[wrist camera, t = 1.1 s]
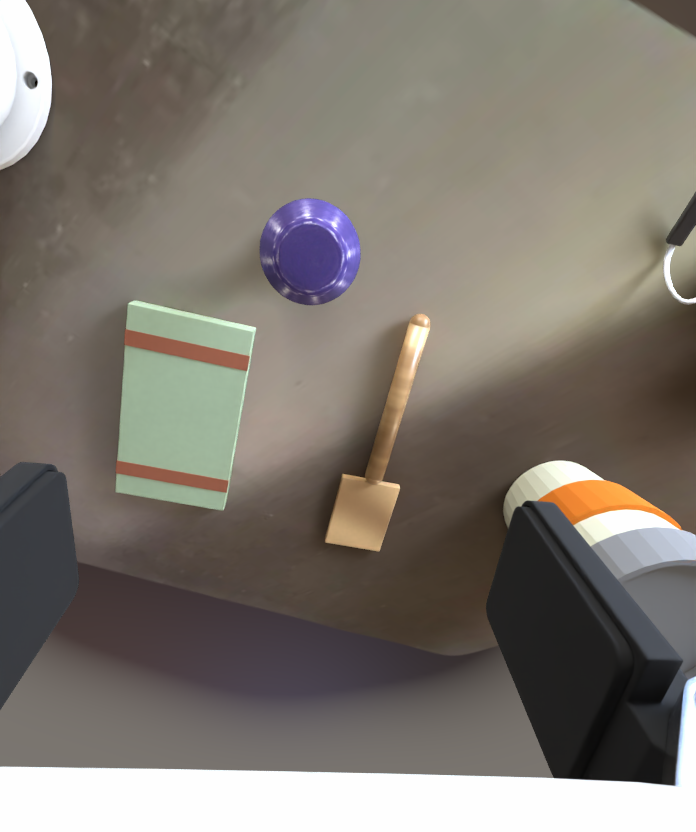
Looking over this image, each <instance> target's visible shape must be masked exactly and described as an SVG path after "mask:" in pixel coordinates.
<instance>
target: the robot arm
mask: <svg viewBox="0 0 696 832" xmlns="http://www.w3.org/2000/svg"><path fill="white" fill-rule="evenodd" d="M36 80H37V81H38V84H37V87H35V81H36ZM51 90H52V79H51V71H50V63H49V57H48V54H47V50H46V46H45V43H44V39H43V36H42V33H41V31H40V29H39V26H38V24H37V22H36V20H35V17H34V15H33V13H32V11H31V9H30V8H29V6H28V4H27V3H26V1H25V0H0V170H1V169H4V168H6V167H9V166H11V165H13V164H14V163H16V162H17V161H18V160H20V159H21V158H23V157H24V156H25V155H27V153H28V152H29V151H30V150H31V148H32V147H33V146H34V145H35V144H36V142H37V141H38V139H39V137H40V135H41V133H42V131H43V129H44V127H45V125H46V122H47V118H48V114H49V110H50V106H51ZM78 584H79V576H78V567H77V559H76V551H75V544H74V536H73V528H72V520H71V512H70V505H69V497H68V489H67V481H66V477H65V475H64V474H63V473H62V472H58V471H57V469H56V467H55V466H54V465H52V464H40V463H27V462H20V463H18V464H16V465H15V466H13V467H12V468H11V469H10V470H8V471H7V472H6V473H5V474H3V475H2V476H1V477H0V709H1V708H2V707H3V705H4V703H5V702H6V700H7V699H8V697H9V696H10V694H11V693H12V691H13V690H14V688H15V687H16V685H17V684H18V682H19V681H20V679H21V678H22V676H23V675H24V673H25V671H26V670H27V668H28V667H29V665H30V664H31V662H32V661H33V659H34V658H35V656H36V655H37V653H38V652H39V650H40V649H41V647H42V646H43V644H44V643H45V641H46V639H47V638H48V636H49V635H50V633H51V632H52V630H53V629H54V627H55V626H56V624H57V623H58V621H59V620H60V618H61V617H62V615H63V614H64V612H65V611H66V609H67V608H68V606H69V604H70V603H71V601H72V600H73V598H74V596H75V594H76V592H77V589H78ZM486 612H487V617H488V620H489V622H490V625H491V627H492V630H493V632H494V635H495V637H496V639H497V642H498V644H499V647H500V649H501V652H502V654H503V656H504V659H505V661H506V664H507V666H508V668H509V671H510V673H511V676H512V678H513V681H514V683H515V685H516V688H517V690H518V693H519V695H520V698H521V700H522V703H523V705H524V707H525V710H526V712H527V715H528V717H529V720H530V722H531V724H532V727H533V729H534V732H535V734H536V737H537V739H538V741H539V744H540V746H541V749H542V751H543V754H544V756H545V758H546V761H547V763H548V766H549V768H550V770H551V773H552V775H553V777H554V778H532V777H495V776H494V777H493V776H456V775H454V776H453V775H419V774H416V775H415V774H380V773H336V772H335V773H333V772H289V771H238V770H188V769H187V770H186V769H125V768H123V769H122V768H119V769H118V768H56V767H52V768H51V767H0V832H696V676H695V677H693V678H691V679H690V680H688V678H687V677H686V676H685V675H684V673H683V672H682V671H681V670H680V667H681V665H682V663H683V659H682V658H681V657H680V656H679V655H678V653H677V652H676V651H675V650H674V648H673V647H672V646H671V645H670V643H669V642H668V641H667V640H666V639H665V637H664V636H663V635H662V634H661V632H660V631H659V630H658V629H657V628H656V626H655V625H654V624H653V623H652V621H651V620H650V619H649V618H648V616H647V615H646V614H645V613H644V612H643V610H642V609H641V608H640V607H639V605H638V604H637V603H636V602H635V601H634V599H633V598H632V597H631V596H630V594H629V593H628V592H627V591H626V589H625V588H624V587H623V586H622V585H621V583H620V582H619V581H618V580H617V578H616V577H615V576H614V575H613V574H612V572H611V571H610V570H609V569H608V567H607V566H606V565H605V564H604V562H603V561H602V560H601V559H600V558H599V556H598V555H597V554H596V553H595V551H594V550H593V549H592V548H591V547H590V545H589V544H588V543H587V542H586V540H585V539H584V538H583V537H582V535H581V534H580V533H579V532H578V531H577V529H576V528H575V527H574V526H573V524H572V523H571V522H570V521H569V520H568V518H567V517H566V516H565V515H564V513H563V512H562V511H561V510H560V509H559V507H558V506H557V505H556V504H555V503H553V502H543V501H530V500H527V501H525V502H524V503H523V504H522V506H518V507H516V508H515V509H514V512H513V515H512V518H511V521H510V525H509V528H508V531H507V535H506V538H505V541H504V545H503V548H502V552H501V555H500V558H499V562H498V565H497V568H496V572H495V575H494V578H493V582H492V585H491V589H490V592H489V595H488V599H487V603H486Z"/></svg>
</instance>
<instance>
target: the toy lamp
mask: <svg viewBox="0 0 696 832" xmlns="http://www.w3.org/2000/svg"><path fill="white" fill-rule="evenodd" d="M260 260H261V265H262V268H263V271H264V274H265V276H266V277H267V279H268V281H269V282H270V284H271V285H272V286H273V288H274V289H275V290H277V291H278V292H279V293H280V294H281V295H282V296H284V297H286V298H287V299H289V300H291V301H293V302H296V303H299V304H304V305H319V304H324V303H327V302H329V301H332V300H333V299H335V298H337V297H338V296H340V295H341V294H342V293H343V292H345V291H346V289H347V288H348V287H349V286H350V285H351V283H352V282H353V280H354V278H355V276H356V274H357V271H358V268H359V264H360V243H359V239H358V235H357V233H356V231H355V229H354V227H353V225H352V223H351V221H350V220H349V219H348V217H347V216H346V215H345V214H344V213H343V212H342V211H341V210H339V209H338V208H337V207H335V206H333V205H332V204H330V203H328V202H325V201H322V200H318V199H300V200H295V201H293V202H290V203H288V204H286V205H284V206H283V207H281V208H280V209H279V210H277V211H276V212H275V213H274V214H273V215H272V217H271V218H270V219H269V221H268V222H267V224H266V226H265V228H264V230H263V233H262V236H261V240H260Z"/></svg>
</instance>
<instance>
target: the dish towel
mask: <svg viewBox="0 0 696 832" xmlns="http://www.w3.org/2000/svg"><path fill="white" fill-rule="evenodd" d="M255 331H256V328H255V327H250V326H246V325H242V324H237V323H233V322H228V321H224V320H220V319H215V318H211V317H206V316H202V315H198V314H193V313H189V312H184V311H180V310H176V309H171V308H167V307H162V306H158V305H153V304H149V303H145V302H140V301H136V300H135V301H132V302H130V303H128V307H127V322H126V329H125V338H124V345H125V353H124V368H123V383H122V398H121V413H120V428H119V443H118V458H117V461H116V488H115V492H118V493H123V494H129V495H135V496H141V497H147V498H152V499H158V500H164V501H170V502H176V503H181V504H187V505H193V506H199V507H205V508H210V509H216V510H222V511H223V510H224V507H225V504H226V501H227V495H228V489H229V483H230V478H231V472H232V466H233V460H234V454H235V448H236V442H237V437H238V431H239V425H240V419H241V413H242V407H243V402H244V396H245V390H246V384H247V378H248V372H249V366H250V361H251V355H252V349H253V343H254V337H255Z"/></svg>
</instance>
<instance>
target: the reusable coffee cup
mask: <svg viewBox="0 0 696 832" xmlns="http://www.w3.org/2000/svg"><path fill="white" fill-rule="evenodd" d="M527 500H530V501H543V502H553V503H555V504H556V505H557V506H558V507H559V509H560V510H561V511H562V512H563V513H564V515H565V516H566V517H567V518H568V520H569V521H570V522H571V523H572V524H573V526H574V527H575V528H576V529H577V531H578V532H579V533H580V534H581V535H582V537H583V538H584V539H585V540H586V542H587V543H588V544H589V545H590V547H591V548H592V549H593V550H594V551H595V553H596V554H597V555H598V556H599V558H600V559H601V560H602V561H603V562H604V564H605V565H606V566H607V567H608V569H609V570H610V571H611V572H612V574H613V575H614V576H615V577H616V578H617V580H618V581H619V582H620V583H621V585H622V586H623V587H624V588H625V589H626V591H627V592H628V593H629V594H630V596H631V597H632V598H633V599H634V601H635V602H636V603H637V604H638V605H639V607H640V608H641V609H642V610H643V612H644V613H645V614H646V615H647V616H648V618H649V619H650V620H651V621H652V623H653V624H654V625H655V626H656V628H657V629H658V630H659V631H660V632H661V634H662V635H663V636H664V637H665V639H666V640H667V641H668V642H669V643H670V645H671V646H672V647H673V648H674V650H675V651H676V652H677V653H678V655H679V656H680V657H681V658H682V659H683V663H682V665H681V667H680V670H681V671H682V672H683V673H684V675H685V676H686V677H687V678H688V680H690V679H691V678H693V677H695V676H696V535H694V534H692V533H690V532H686V531H682V529H681V527H680V526H679V524H678V523H677V522H676V521H674V520H673V519H672V518H671V517H670V516H669V515H667V514H666V513H664V512H663V511H661V510H659V509H658V508H656V507H655V506H653V505H652V504H650V503H649V502H647V501H645V500H644V499H642V498H641V497H639V496H638V495H636V494H634V493H633V492H631V491H630V490H628V489H626V488H624V487H623V486H621V485H619V484H616V483H613V482H609V481H605V480H603V479H602V478H600V477H599V476H597V475H596V474H594V473H593V472H591V471H590V470H588V469H587V468H585V467H583V466H581V465H579V464H577V463H574V462H570V461H551V462H547V463H543V464H540V465H538V466H535V467H533V468H531V469H530V470H528V471H527V472H525V473H524V474H522V475H521V476H520V477H519V478H518V479H517V480H516V481H515V482H514V483H513V485H512V486H511V487H510V489H509V491H508V493H507V495H506V497H505V501H504V506H503V514H504V519H505V522H506V525H507V527H508V528H509V525H510V521H511V518H512V515H513V512H514V509H515V508H516V507H518V506H522V504H523V503H524V502H525V501H527Z"/></svg>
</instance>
